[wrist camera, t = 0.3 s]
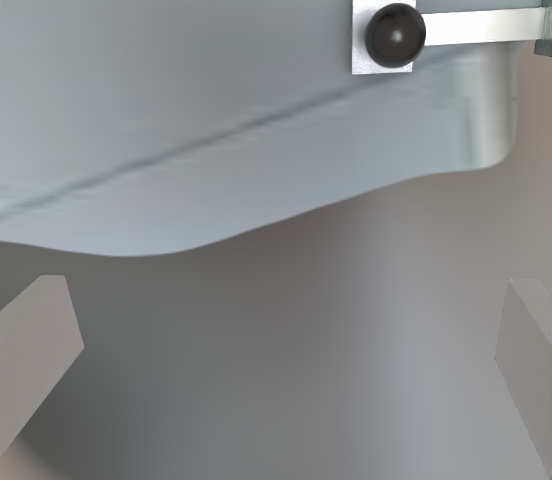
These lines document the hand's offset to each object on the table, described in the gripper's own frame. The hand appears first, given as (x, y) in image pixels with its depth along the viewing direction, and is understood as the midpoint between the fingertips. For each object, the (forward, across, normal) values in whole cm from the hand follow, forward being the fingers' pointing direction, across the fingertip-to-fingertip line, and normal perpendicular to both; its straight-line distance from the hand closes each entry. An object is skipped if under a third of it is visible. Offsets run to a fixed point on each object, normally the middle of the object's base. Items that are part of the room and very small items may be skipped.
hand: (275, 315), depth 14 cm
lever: (+25, +5, +7) cm, 27 cm away
